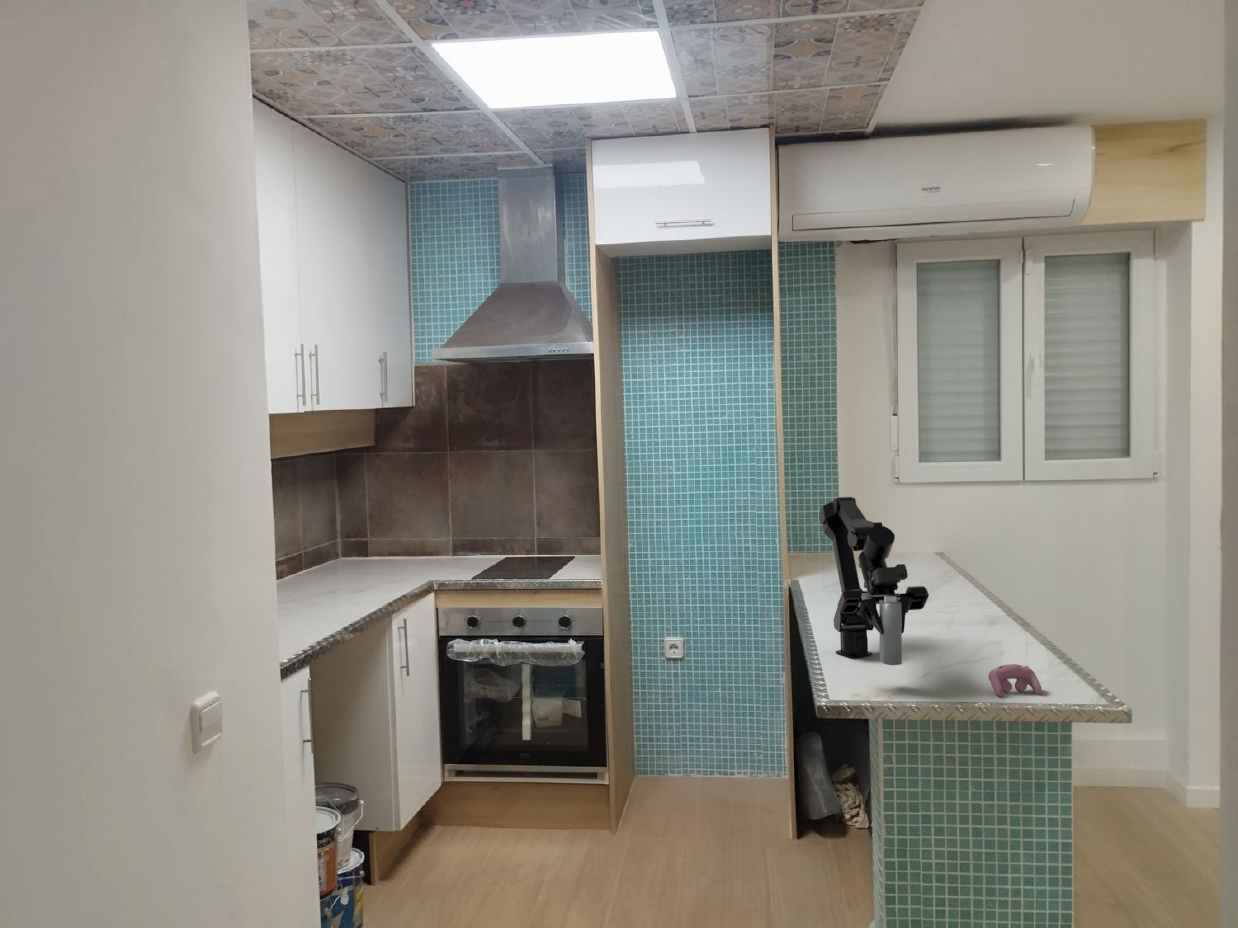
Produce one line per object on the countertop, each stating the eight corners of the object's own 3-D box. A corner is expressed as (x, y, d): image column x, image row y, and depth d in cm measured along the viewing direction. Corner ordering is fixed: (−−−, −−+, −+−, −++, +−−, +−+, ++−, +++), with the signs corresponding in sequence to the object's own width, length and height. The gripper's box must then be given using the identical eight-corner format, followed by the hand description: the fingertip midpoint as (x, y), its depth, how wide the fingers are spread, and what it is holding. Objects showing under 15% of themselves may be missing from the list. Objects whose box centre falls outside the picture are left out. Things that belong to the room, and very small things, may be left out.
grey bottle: (877, 657, 221) (876, 594, 220) (895, 657, 222) (895, 593, 221) (885, 665, 215) (885, 599, 214) (904, 664, 216) (904, 599, 215)
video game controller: (1036, 697, 214) (1028, 664, 216) (1044, 693, 209) (1037, 660, 212) (990, 700, 213) (983, 667, 216) (998, 696, 209) (991, 662, 212)
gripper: (841, 553, 220) (857, 614, 210) (925, 549, 221) (945, 610, 211) (832, 582, 229) (847, 642, 218) (913, 578, 230) (931, 638, 220)
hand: (892, 632), depth 217 cm, fingers closed on grey bottle, 4 cm apart
